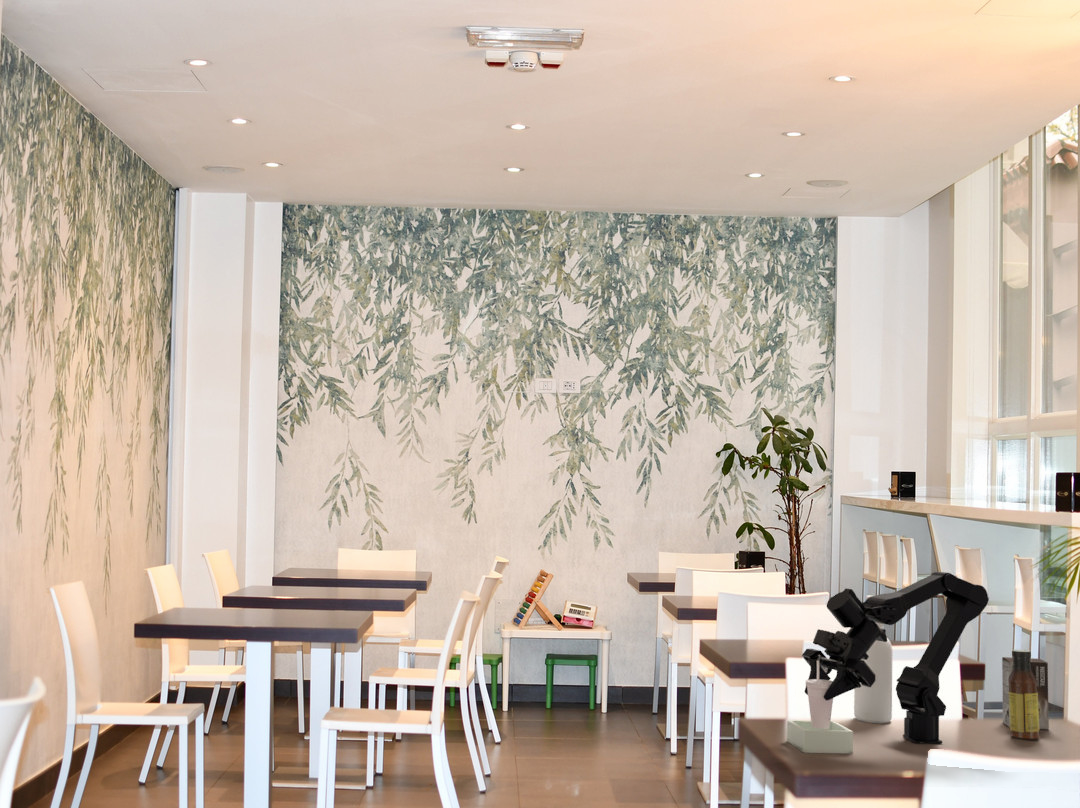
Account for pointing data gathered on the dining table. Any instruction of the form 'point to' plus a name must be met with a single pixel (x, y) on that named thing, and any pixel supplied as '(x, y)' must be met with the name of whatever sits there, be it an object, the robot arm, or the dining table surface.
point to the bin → (819, 737)
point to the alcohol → (876, 685)
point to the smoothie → (819, 702)
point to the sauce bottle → (1023, 698)
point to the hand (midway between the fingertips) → (815, 696)
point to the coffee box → (1041, 675)
